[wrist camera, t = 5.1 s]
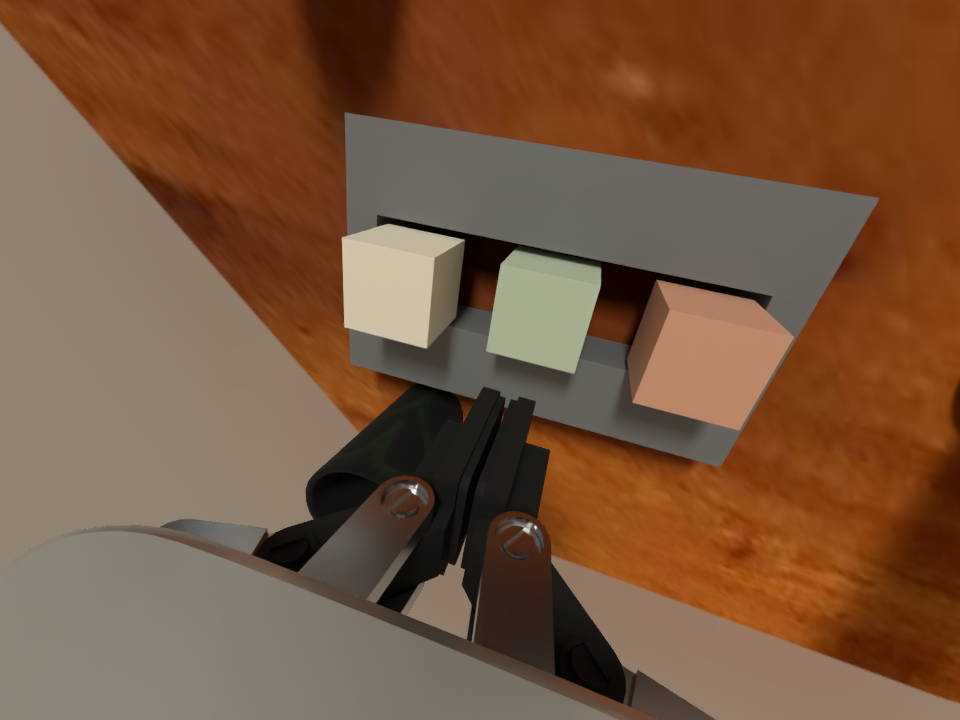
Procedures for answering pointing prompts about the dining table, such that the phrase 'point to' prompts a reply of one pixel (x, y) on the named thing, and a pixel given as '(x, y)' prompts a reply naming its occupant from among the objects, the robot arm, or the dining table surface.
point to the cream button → (401, 283)
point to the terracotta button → (704, 354)
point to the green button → (543, 307)
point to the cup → (382, 450)
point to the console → (591, 257)
